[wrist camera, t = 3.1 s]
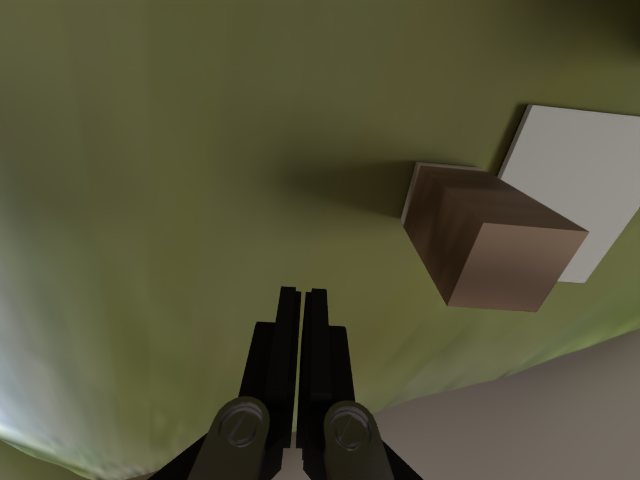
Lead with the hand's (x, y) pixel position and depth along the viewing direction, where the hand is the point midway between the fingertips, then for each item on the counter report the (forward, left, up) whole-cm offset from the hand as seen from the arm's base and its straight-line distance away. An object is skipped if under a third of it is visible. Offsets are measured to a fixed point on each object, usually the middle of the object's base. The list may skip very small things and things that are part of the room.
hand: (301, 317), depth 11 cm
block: (0, +10, -13) cm, 17 cm away
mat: (0, +20, -13) cm, 24 cm away
